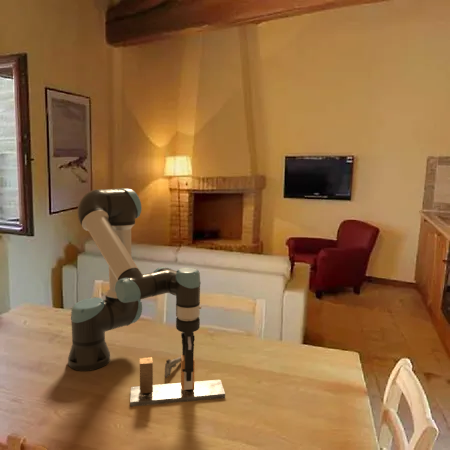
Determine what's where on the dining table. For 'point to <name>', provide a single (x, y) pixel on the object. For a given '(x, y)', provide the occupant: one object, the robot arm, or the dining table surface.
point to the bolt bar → (170, 389)
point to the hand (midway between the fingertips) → (187, 384)
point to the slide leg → (183, 372)
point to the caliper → (171, 365)
